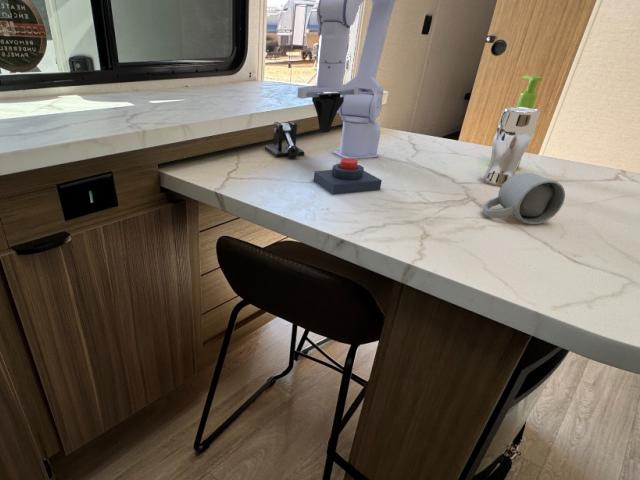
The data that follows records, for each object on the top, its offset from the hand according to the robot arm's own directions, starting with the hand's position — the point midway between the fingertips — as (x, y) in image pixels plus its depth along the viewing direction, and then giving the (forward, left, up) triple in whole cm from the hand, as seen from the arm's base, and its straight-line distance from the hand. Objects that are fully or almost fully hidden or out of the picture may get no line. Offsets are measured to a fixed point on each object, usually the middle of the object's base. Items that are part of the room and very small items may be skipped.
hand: (324, 131), depth 94 cm
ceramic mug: (-23, +35, -10) cm, 43 cm away
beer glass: (-36, +17, -10) cm, 41 cm away
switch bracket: (+1, -21, -10) cm, 23 cm away
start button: (-2, +10, -6) cm, 12 cm away
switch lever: (+1, -18, -7) cm, 20 cm away
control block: (-2, +10, -10) cm, 14 cm away
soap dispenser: (-47, +7, -10) cm, 48 cm away
